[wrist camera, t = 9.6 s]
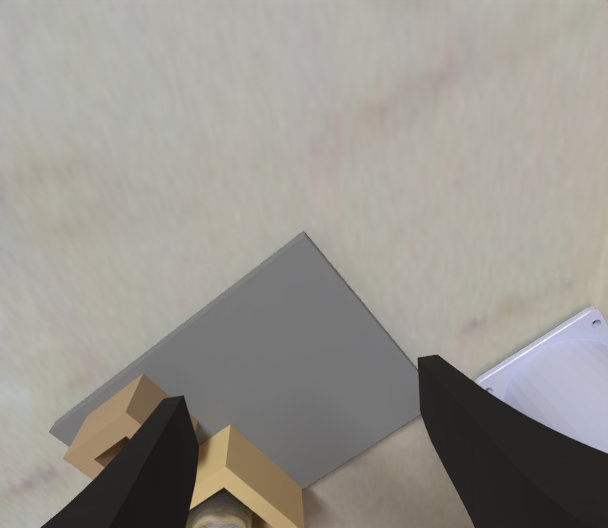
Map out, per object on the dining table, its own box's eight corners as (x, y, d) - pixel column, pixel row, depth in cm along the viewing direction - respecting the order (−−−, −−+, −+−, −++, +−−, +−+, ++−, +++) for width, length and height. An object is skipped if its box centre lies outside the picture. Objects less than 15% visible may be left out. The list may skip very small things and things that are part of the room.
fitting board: (436, 392, 26) (462, 439, 22) (211, 537, 29) (202, 599, 25) (303, 230, 21) (310, 257, 18) (55, 421, 25) (19, 476, 21)
